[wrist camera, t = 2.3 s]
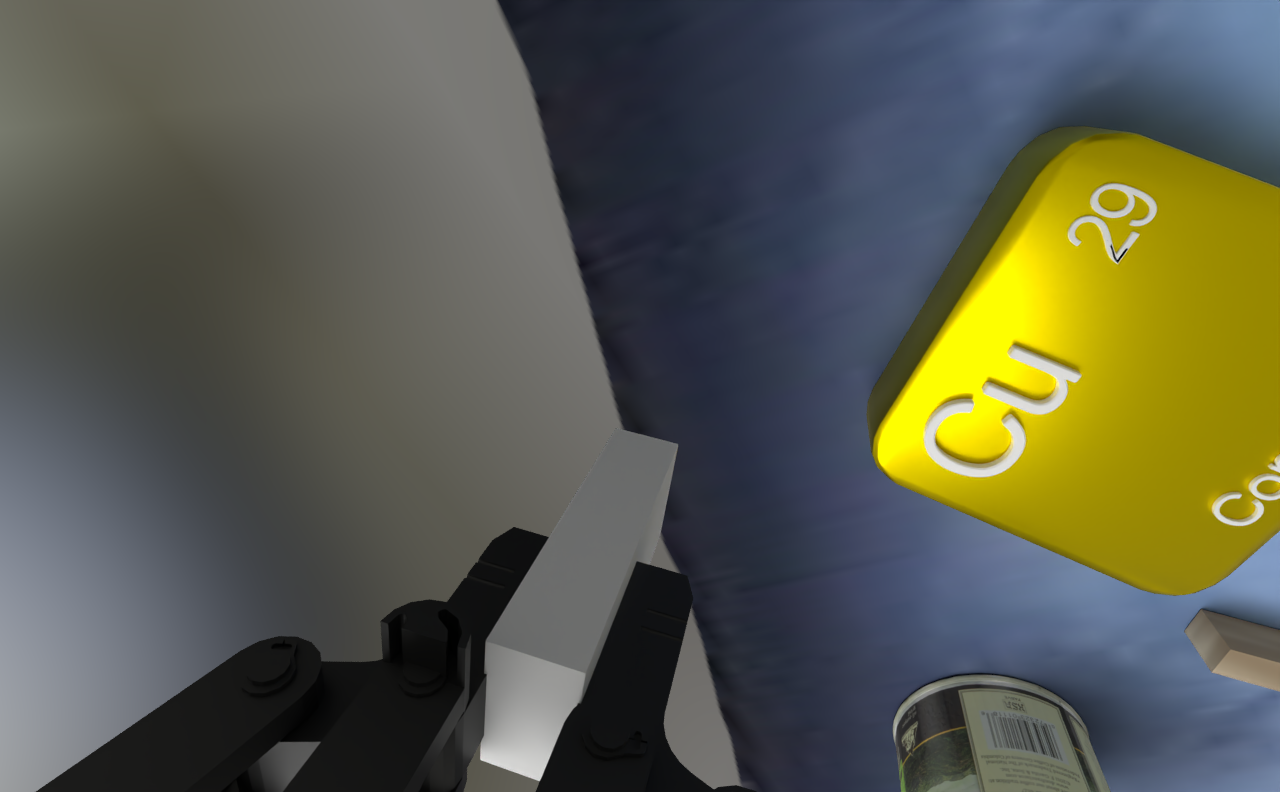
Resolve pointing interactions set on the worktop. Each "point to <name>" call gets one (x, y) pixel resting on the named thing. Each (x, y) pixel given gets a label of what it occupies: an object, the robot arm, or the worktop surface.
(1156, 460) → the element tile
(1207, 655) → the wooden bay
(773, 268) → the worktop surface
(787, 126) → the worktop surface
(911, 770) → the coffee can
